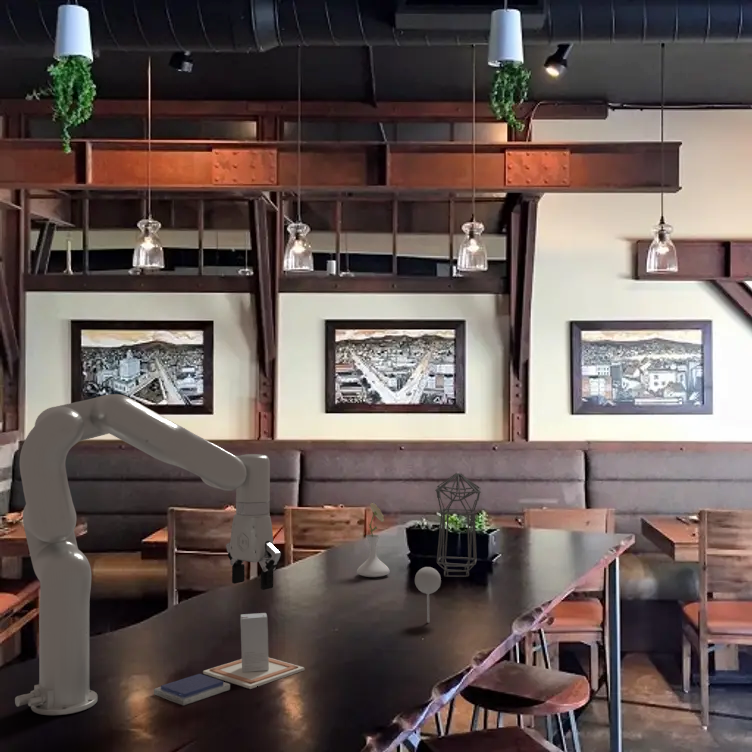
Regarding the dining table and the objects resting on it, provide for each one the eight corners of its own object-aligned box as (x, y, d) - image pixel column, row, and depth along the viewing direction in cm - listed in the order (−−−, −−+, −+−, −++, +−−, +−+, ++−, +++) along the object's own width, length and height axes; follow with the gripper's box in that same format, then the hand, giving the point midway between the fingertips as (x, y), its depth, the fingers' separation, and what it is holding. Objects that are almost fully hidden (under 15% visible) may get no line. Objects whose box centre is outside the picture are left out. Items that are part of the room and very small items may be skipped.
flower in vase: (389, 579, 288) (389, 505, 289) (356, 579, 288) (355, 505, 289) (389, 571, 301) (389, 500, 302) (357, 571, 301) (356, 500, 302)
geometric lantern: (435, 569, 304) (437, 471, 305) (480, 571, 302) (481, 472, 303) (432, 578, 289) (434, 474, 290) (479, 580, 286) (480, 475, 288)
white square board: (250, 689, 181) (250, 684, 181) (203, 673, 191) (203, 669, 191) (304, 670, 193) (304, 666, 193) (257, 656, 203) (257, 652, 203)
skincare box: (267, 665, 195) (267, 611, 195) (269, 671, 191) (268, 616, 191) (240, 667, 194) (240, 613, 194) (241, 673, 189) (240, 618, 190)
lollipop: (446, 622, 233) (446, 566, 233) (430, 627, 228) (429, 570, 228) (426, 617, 238) (425, 563, 238) (409, 622, 233) (409, 567, 233)
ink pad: (183, 705, 172) (183, 696, 172) (154, 694, 178) (153, 685, 178) (230, 689, 181) (230, 681, 181) (200, 679, 187) (200, 671, 187)
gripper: (215, 507, 196) (214, 582, 195) (266, 514, 185) (265, 594, 184) (240, 504, 202) (240, 577, 201) (291, 511, 190) (291, 588, 190)
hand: (252, 585), depth 193 cm, fingers open, 9 cm apart
